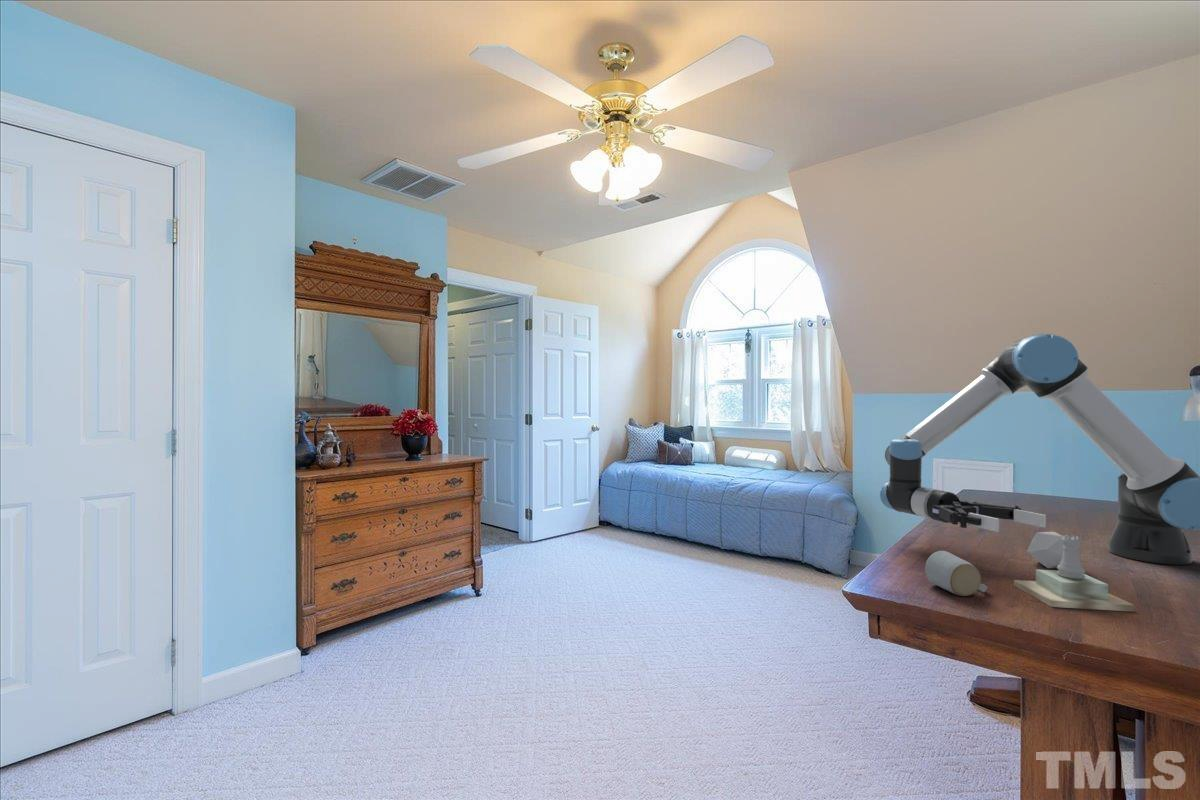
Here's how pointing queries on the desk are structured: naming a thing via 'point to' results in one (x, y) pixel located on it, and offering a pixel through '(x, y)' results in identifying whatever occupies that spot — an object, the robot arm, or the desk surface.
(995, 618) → the desk surface
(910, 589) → the desk surface
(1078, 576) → the rook chess piece
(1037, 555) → the die
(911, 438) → the robot arm
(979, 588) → the ceramic mug
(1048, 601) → the plinth
